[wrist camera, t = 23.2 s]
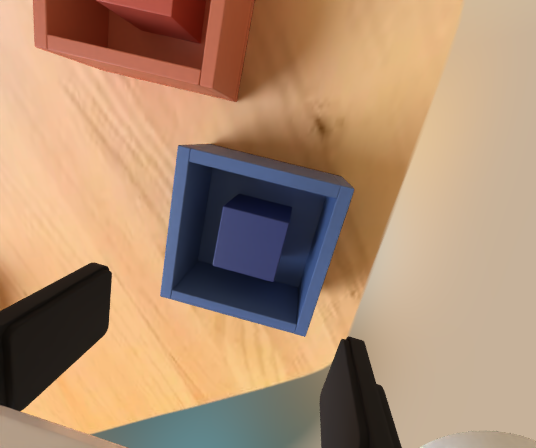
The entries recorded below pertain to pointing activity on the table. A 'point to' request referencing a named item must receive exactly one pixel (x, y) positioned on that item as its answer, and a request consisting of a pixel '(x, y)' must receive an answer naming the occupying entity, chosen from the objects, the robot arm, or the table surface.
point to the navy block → (252, 236)
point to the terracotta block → (163, 16)
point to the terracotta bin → (150, 44)
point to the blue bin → (207, 226)
